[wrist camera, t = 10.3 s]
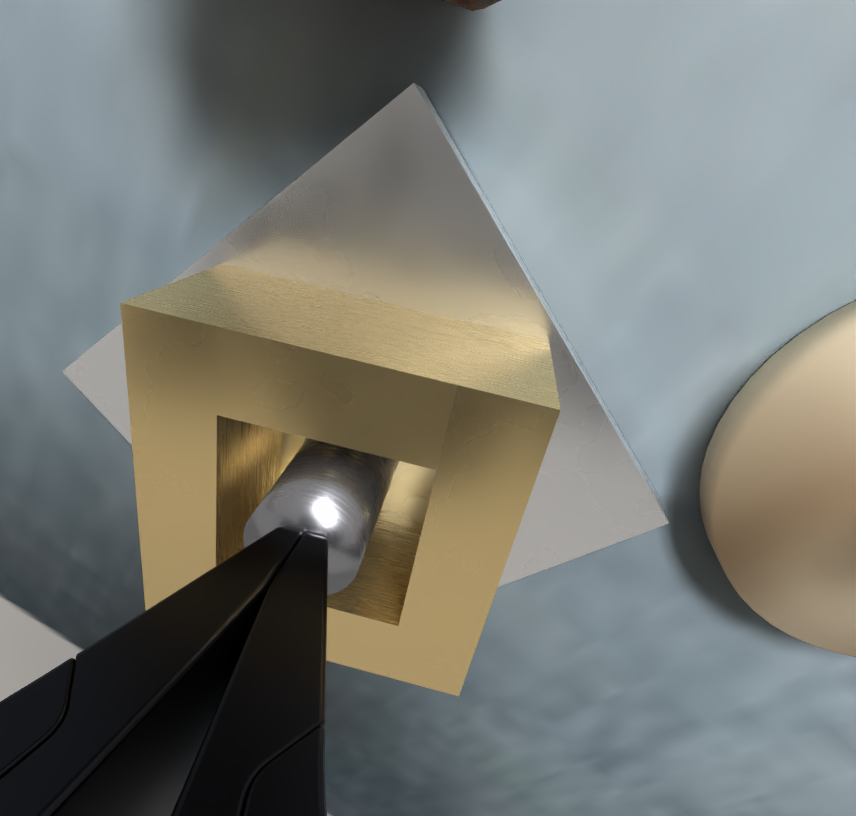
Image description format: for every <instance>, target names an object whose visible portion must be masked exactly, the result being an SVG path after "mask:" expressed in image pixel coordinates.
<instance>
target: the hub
mask: <svg viewBox="0 0 856 816" xmlns="http://www.w3.org/2000/svg"><path fill="white" fill-rule="evenodd" d="M219 264H226V265H230V266H235V267H239V268H243V269H247V270H251V271H256V272H260V273H264V274H268V275H272V276H277V277H281V278H285V279H289V280H294V281H298V282H302V283H306V284H310V285H315V286H319V287H323V288H327V289H331V290H336V291H340V292H344V293H348V294H352V295H357V296H361V297H365V298H369V299H374V300H378V301H382V302H386V303H390V304H395V305H399V306H403V307H407V308H411V309H416V310H420V311H424V312H428V313H432V314H437V315H441V316H445V317H449V318H454V319H458V320H462V321H466V322H470V323H475V324H479V325H483V326H487V327H491V328H496V329H500V330H504V331H508V332H512V333H517V334H521V335H525V336H529V337H534V338H538V339H542V340H546V341H549V345H550V350H551V356H552V362H553V368H554V374H555V380H556V385H557V391H558V397H559V403H560V409H561V411H560V414H559V416H558V419H557V422H556V425H555V428H554V430H553V433H552V436H551V439H550V442H549V444H548V447H547V450H546V453H545V456H544V458H543V461H542V464H541V467H540V470H539V472H538V475H537V478H536V481H535V484H534V486H533V489H532V492H531V495H530V498H529V500H528V503H527V506H526V509H525V512H524V514H523V517H522V520H521V523H520V526H519V529H518V531H517V534H516V537H515V540H514V543H513V545H512V548H511V551H510V554H509V557H508V559H507V562H506V565H505V568H504V571H503V573H502V576H501V579H500V582H499V585H498V587H499V586H502V585H505V584H507V583H510V582H513V581H515V580H518V579H521V578H523V577H526V576H529V575H532V574H534V573H537V572H540V571H542V570H545V569H548V568H550V567H553V566H556V565H558V564H561V563H564V562H567V561H569V560H572V559H575V558H577V557H580V556H583V555H585V554H588V553H591V552H594V551H596V550H599V549H602V548H604V547H607V546H610V545H612V544H615V543H618V542H620V541H623V540H626V539H629V538H631V537H634V536H637V535H639V534H642V533H645V532H647V531H650V530H653V529H656V528H658V527H661V526H664V525H666V524H669V521H668V519H667V516H666V514H665V511H664V509H663V507H662V504H661V502H660V499H659V497H658V495H657V493H656V492H655V490H654V488H653V486H652V485H651V483H650V481H649V479H648V478H647V476H646V474H645V472H644V471H643V469H642V467H641V466H640V464H639V462H638V460H637V459H636V457H635V455H634V453H633V452H632V450H631V448H630V446H629V445H628V443H627V441H626V439H625V438H624V436H623V434H622V433H621V431H620V429H619V427H618V426H617V424H616V422H615V420H614V419H613V417H612V415H611V413H610V412H609V410H608V408H607V407H606V405H605V403H604V401H603V400H602V398H601V396H600V394H599V393H598V391H597V389H596V387H595V386H594V384H593V382H592V380H591V379H590V377H589V375H588V374H587V372H586V370H585V368H584V367H583V365H582V363H581V361H580V360H579V358H578V356H577V354H576V353H575V351H574V349H573V348H572V346H571V344H570V342H569V341H568V339H567V337H566V335H565V334H564V332H563V330H562V328H561V327H560V325H559V323H558V321H557V320H556V318H555V316H554V315H553V313H552V311H551V309H550V308H549V306H548V304H547V302H546V301H545V299H544V297H543V295H542V294H541V292H540V290H539V289H538V287H537V285H536V283H535V282H534V280H533V278H532V276H531V275H530V273H529V271H528V269H527V268H526V266H525V264H524V263H523V261H522V259H521V257H520V256H519V254H518V252H517V250H516V249H515V247H514V245H513V243H512V242H511V240H510V238H509V236H508V235H507V233H506V231H505V230H504V228H503V226H502V224H501V223H500V221H499V219H498V217H497V216H496V214H495V212H494V210H493V209H492V207H491V205H490V204H489V202H488V200H487V198H486V197H485V195H484V193H483V191H482V190H481V188H480V186H479V184H478V183H477V181H476V179H475V177H474V176H473V174H472V172H471V171H470V169H469V167H468V165H467V164H466V162H465V160H464V158H463V157H462V155H461V153H460V151H459V150H458V148H457V146H456V145H455V143H454V141H453V139H452V138H451V136H450V134H449V132H448V131H447V129H446V127H445V125H444V124H443V122H442V120H441V118H440V117H439V115H438V113H437V112H436V110H435V108H434V106H433V105H432V103H431V101H430V99H429V98H428V96H427V94H426V92H425V91H424V89H423V88H421V87H420V86H418V85H417V84H415V83H413V84H412V85H410V86H409V87H408V88H407V89H405V90H404V91H403V92H402V93H401V94H399V95H398V96H397V97H396V98H394V99H393V100H392V101H391V102H390V103H388V104H387V105H386V106H385V107H384V108H382V109H381V110H380V111H379V112H377V113H376V114H375V115H374V116H373V117H371V118H370V119H369V120H368V121H366V122H365V123H364V124H363V125H362V126H360V127H359V128H358V129H357V130H356V131H354V132H353V133H352V134H351V135H349V136H348V137H347V138H346V139H345V140H343V141H342V142H341V143H340V144H338V145H337V146H336V147H335V148H334V149H332V150H331V151H330V152H329V153H328V154H326V155H325V156H324V157H323V158H321V159H320V160H319V161H318V162H317V163H315V164H314V165H313V166H312V167H310V168H309V169H308V170H307V171H306V172H304V173H303V174H302V175H301V176H300V177H298V178H297V179H296V180H295V181H293V182H292V183H291V184H290V185H289V186H287V187H286V188H285V189H284V190H282V191H281V192H280V193H279V194H278V195H276V196H275V197H274V198H273V199H271V200H270V201H269V202H268V203H267V204H265V205H264V206H263V207H262V208H261V209H259V210H258V211H257V212H256V213H254V214H253V215H252V216H251V217H250V218H248V219H247V220H246V221H245V222H243V223H242V224H241V225H240V226H239V227H237V228H236V229H235V230H234V231H233V232H231V233H230V234H229V235H228V236H226V237H225V238H224V239H223V240H222V241H220V242H219V243H218V244H217V245H215V246H214V247H213V248H212V249H211V250H209V251H208V252H207V253H206V254H205V255H203V256H202V257H201V258H200V259H198V260H197V261H196V262H195V263H194V264H192V265H191V266H190V267H189V268H187V269H186V270H185V271H184V272H183V273H181V274H180V275H179V276H178V277H177V278H175V279H174V280H173V281H172V282H170V283H173V282H176V281H178V280H181V279H183V278H186V277H188V276H191V275H194V274H196V273H199V272H201V271H204V270H206V269H209V268H212V267H214V266H217V265H219ZM170 283H169V284H170ZM62 372H63V373H64V374H65V375H66V376H67V377H68V378H69V379H70V380H71V381H72V382H73V383H74V384H75V385H76V387H77V388H78V389H79V390H80V391H81V392H82V393H83V394H84V395H85V396H86V397H87V398H88V399H89V400H90V401H91V402H92V404H93V405H94V406H95V407H96V408H97V409H98V410H99V411H100V412H101V413H102V414H103V415H104V416H105V417H106V418H107V419H108V421H109V422H110V423H111V424H112V425H113V426H114V427H115V428H116V429H117V430H118V431H119V432H120V433H121V434H122V435H123V436H124V437H125V439H126V440H127V441H128V442H129V443H130V444H131V445H132V438H131V426H130V414H129V402H128V389H127V377H126V365H125V353H124V341H123V328H122V323H121V324H119V325H118V326H117V327H116V328H114V329H113V330H112V331H111V332H110V333H108V334H107V335H106V336H105V337H103V338H102V339H101V340H100V341H99V342H97V343H96V344H95V345H94V346H93V347H91V348H90V349H89V350H88V351H86V352H85V353H84V354H83V355H82V356H80V357H79V358H78V359H77V360H75V361H74V362H73V363H72V364H71V365H69V366H68V367H67V368H66V369H64V370H63V371H62ZM436 471H437V470H433V469H429V468H425V467H421V466H417V465H413V464H409V463H405V462H401V461H397V460H393V459H390V458H386V457H382V456H378V455H374V454H370V453H366V452H362V451H358V450H354V449H350V448H346V447H342V446H338V445H334V444H330V443H326V442H322V441H318V440H314V439H310V438H306V437H302V436H298V435H294V434H290V433H286V432H283V439H282V452H281V465H280V477H279V478H278V479H277V481H276V482H275V484H274V485H273V486H272V488H271V489H270V490H269V492H268V493H267V495H266V496H265V497H264V499H263V500H262V502H261V503H260V504H259V506H258V507H257V508H256V510H255V511H254V513H253V514H252V515H251V517H250V518H249V520H248V521H247V523H246V525H245V529H244V534H243V542H244V547H247V546H249V545H250V544H252V543H253V542H255V541H256V540H258V539H260V538H261V537H263V536H264V535H266V534H267V533H269V532H271V531H272V530H274V529H275V528H277V527H287V528H291V529H295V530H298V531H301V532H302V533H303V535H304V534H306V533H310V534H314V535H318V536H322V537H325V538H327V539H328V591H327V595H330V594H334V593H337V592H339V591H341V590H343V589H344V588H346V587H347V586H348V585H349V584H350V583H351V582H352V581H353V580H354V578H355V577H356V574H357V572H358V570H359V567H360V564H361V562H362V559H363V556H364V554H365V551H366V548H367V546H368V543H369V540H370V538H371V535H372V532H373V530H374V527H375V524H376V522H377V519H378V516H379V514H384V515H388V516H392V517H396V518H400V519H404V520H408V521H412V522H415V523H419V524H424V520H425V516H426V512H427V508H428V503H429V499H430V495H431V491H432V487H433V483H434V479H435V475H436Z"/></svg>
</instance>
